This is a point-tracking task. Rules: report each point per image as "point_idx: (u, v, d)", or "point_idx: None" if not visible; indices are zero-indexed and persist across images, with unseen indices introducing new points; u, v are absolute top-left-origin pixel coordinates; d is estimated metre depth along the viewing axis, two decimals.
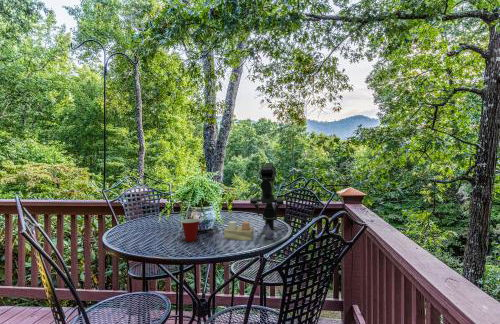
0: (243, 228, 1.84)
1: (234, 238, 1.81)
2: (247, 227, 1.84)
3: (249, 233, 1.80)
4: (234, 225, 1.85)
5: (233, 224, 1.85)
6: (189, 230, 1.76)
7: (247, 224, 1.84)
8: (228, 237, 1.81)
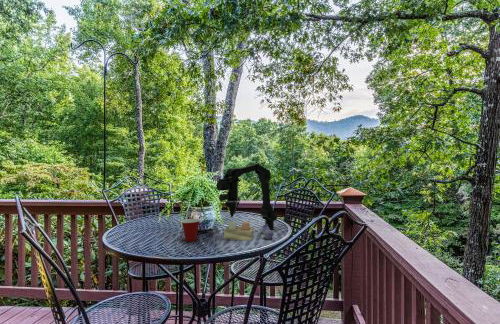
0: (243, 228, 1.84)
1: (234, 238, 1.81)
2: (247, 227, 1.84)
3: (249, 233, 1.80)
4: (234, 225, 1.85)
5: (233, 224, 1.85)
6: (189, 230, 1.76)
7: (247, 224, 1.84)
8: (228, 237, 1.81)
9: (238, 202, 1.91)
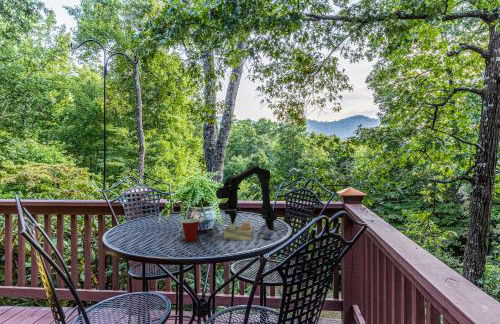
0: (243, 228, 1.84)
1: (234, 238, 1.81)
2: (247, 227, 1.84)
3: (249, 233, 1.80)
4: (234, 226, 1.85)
5: (233, 225, 1.85)
6: (189, 230, 1.76)
7: (247, 224, 1.84)
8: (228, 237, 1.81)
9: (237, 211, 1.88)
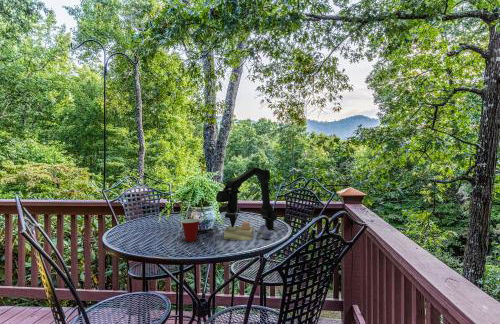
0: (243, 228, 1.84)
1: (234, 238, 1.81)
2: (247, 227, 1.84)
3: (249, 233, 1.80)
4: None
5: (233, 229, 1.85)
6: (189, 230, 1.76)
7: (247, 224, 1.84)
8: (228, 237, 1.81)
9: (237, 214, 1.88)
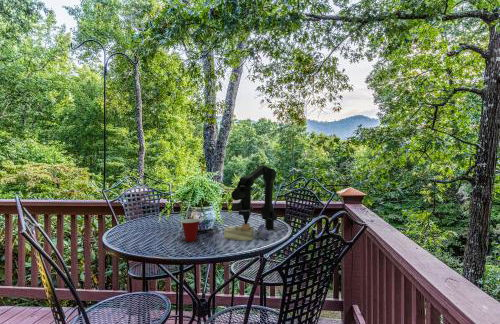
0: None
1: (234, 238, 1.81)
2: (247, 229, 1.84)
3: (249, 233, 1.80)
4: None
5: (233, 229, 1.85)
6: (189, 230, 1.76)
7: (247, 226, 1.84)
8: (228, 237, 1.81)
9: (250, 212, 1.87)
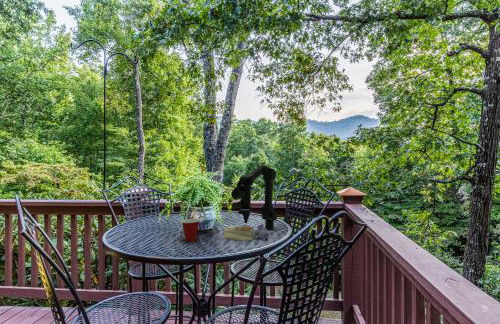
0: None
1: (234, 238, 1.81)
2: None
3: (249, 233, 1.80)
4: None
5: (233, 229, 1.85)
6: (189, 230, 1.76)
7: (247, 228, 1.84)
8: (228, 237, 1.81)
9: (250, 211, 1.87)
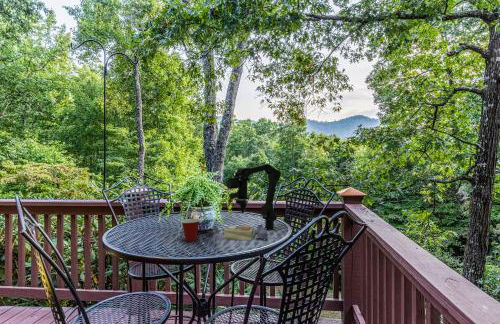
0: None
1: (234, 238, 1.81)
2: None
3: (249, 233, 1.80)
4: None
5: (233, 229, 1.85)
6: (189, 230, 1.76)
7: (247, 228, 1.84)
8: (228, 237, 1.81)
9: (247, 201, 1.95)
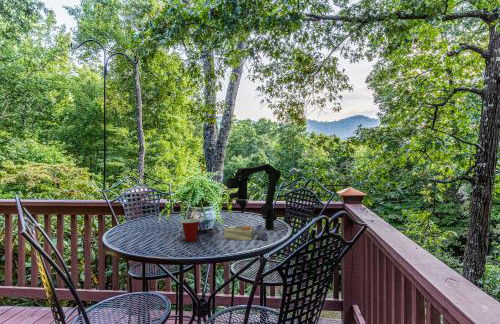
0: None
1: (234, 238, 1.81)
2: None
3: (249, 233, 1.80)
4: None
5: (233, 229, 1.85)
6: (189, 230, 1.76)
7: (247, 228, 1.84)
8: (228, 237, 1.81)
9: (247, 201, 1.95)
